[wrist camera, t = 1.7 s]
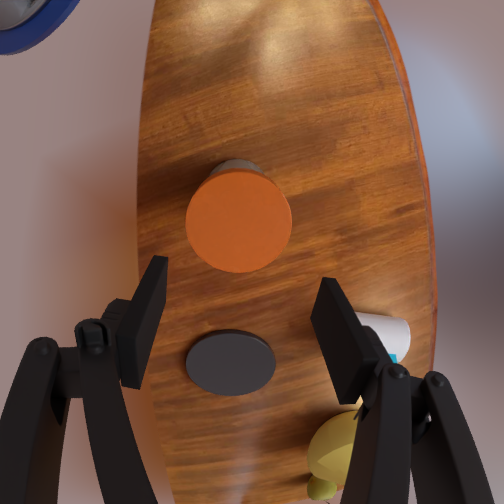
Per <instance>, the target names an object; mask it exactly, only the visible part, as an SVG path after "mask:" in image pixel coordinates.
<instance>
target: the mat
mask: <svg viewBox="0 0 504 504" xmlns="http://www.w3.org/2000/svg"><path fill="white" fill-rule="evenodd" d="M275 366H276V363H275V357H274V353H273V351H272V349H271V347H270V346H269V345H268V344H267V343H266V342H265V341H264V340H263V339H261V338H260V337H258V336H256V335H254V334H252V333H249V332H245V331H241V330H220V331H215V332H211V333H209V334H206V335H204V336H202V337H201V338H199V339H198V340H197V341H196V342H194V343H193V345H192V346H191V347H190V349H189V351H188V354H187V359H186V369H187V372H188V374H189V376H190V378H191V379H192V380H193V381H194V382H195V383H196V384H197V385H198V386H199V387H201V388H202V389H204V390H206V391H208V392H211V393H214V394H218V395H224V396H238V395H244V394H248V393H251V392H254V391H256V390H258V389H260V388H261V387H263V386H264V385H265V384H266V383H268V381H269V380H270V379H271V378H272V376H273V374H274V371H275Z"/></svg>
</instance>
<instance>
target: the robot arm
mask: <svg viewBox="0 0 504 504" xmlns="http://www.w3.org/2000/svg"><path fill="white" fill-rule="evenodd" d="M50 1H51V0H0V30H2V31H9V30H14V29H17V28H19V27H21V26H23V25H25V24H26V23H28V22H29V21H31V20H32V19H33V18H34V17H36V16H37V15H38V14H39V13H40V12H41V11H42V10H43V9H44V8H45V7H46V6H47V4H48V3H49V2H50ZM167 268H168V257H164V256H157V255H154V256H153V258H152V260H151V262H150V264H149V266H148V268H147V270H146V271H145V273H144V275H143V277H142V279H141V281H140V283H139V285H138V287H137V289H136V291H135V294H134V296H133V298H132V300H131V301H129V300H123V299H117V298H116V299H115V300H113V301H112V302H111V303H109V304H108V306H107V308H106V310H105V312H104V313H103V315H102V318H101V319H92V318H90V319H86V320H83V321H81V322H79V323H78V324H77V325H76V326H75V330H74V332H75V337H76V342H77V347H62V348H61V347H60V348H59V347H58V344H57V342H56V341H55V340H53V339H52V338H48V337H39V338H36V339H34V340H32V341H31V342H30V343H29V344H28V346H27V348H26V351H25V353H24V355H23V358H22V360H21V362H20V365H19V367H18V370H17V373H16V375H15V378H14V380H13V383H12V386H11V389H10V392H9V394H8V397H7V400H6V403H5V406H4V409H3V412H2V415H1V419H0V504H57V499H58V486H59V475H60V465H61V457H62V449H63V442H64V435H65V429H66V422H67V417H68V411H69V405H70V401H71V398H83V405H84V412H85V418H86V423H87V429H88V435H89V441H90V446H91V450H92V455H93V460H94V464H95V469H96V473H97V477H98V481H99V485H100V488H101V492H102V496H103V499H104V503H105V504H158V502H157V500H156V497H155V495H154V492H153V490H152V487H151V484H150V482H149V479H148V477H147V474H146V471H145V468H144V465H143V462H142V460H141V456H140V453H139V450H138V447H137V444H136V441H135V438H134V434H133V431H132V428H131V424H130V421H129V417H128V414H127V410H126V406H125V402H124V399H123V395H122V390H121V386H120V382H119V381H120V378H121V385H122V386H123V387H128V388H133V389H138V390H140V387H141V383H142V380H143V376H144V373H145V369H146V366H147V362H148V359H149V355H150V352H151V348H152V345H153V342H154V338H155V335H156V332H157V328H158V325H159V322H160V319H161V316H162V312H163V309H164V306H165V303H166V288H167ZM310 319H311V322H312V325H313V328H314V331H315V333H316V336H317V339H318V342H319V345H320V348H321V351H322V354H323V356H324V359H325V362H326V365H327V368H328V371H329V374H330V377H331V380H332V383H333V386H334V389H335V392H336V395H337V398H338V401H339V404H340V405H344V404H356V402H357V400H358V399H359V397H360V395H361V397H362V400H363V403H362V405H361V407H360V408H359V410H358V412H357V413H356V415H355V416H354V419H353V420H356V418H357V417H358V422H357V428H356V433H355V439H354V444H353V449H352V454H351V459H350V464H349V468H348V473H347V477H346V481H345V486H344V490H343V494H342V498H341V502H340V504H408V497H409V485H410V469H411V472H412V477H413V481H414V487H415V493H416V499H417V504H495V503H494V500H493V497H492V493H491V490H490V486H489V483H488V480H487V477H486V474H485V471H484V468H483V465H482V462H481V459H480V456H479V453H478V451H477V448H476V446H475V442H474V440H473V437H472V434H471V432H470V429H469V427H468V424H467V422H466V420H465V417H464V415H463V412H462V410H461V407H460V405H459V403H458V400H457V398H456V396H455V394H454V391H453V389H452V387H451V385H450V383H449V381H448V379H447V378H446V377H445V376H444V375H443V374H441V373H439V372H436V371H429V372H428V373H426V375H425V377H424V378H423V379H422V378H417V377H413V376H410V374H409V372H408V370H407V369H406V368H405V367H403V366H402V365H400V364H397V363H393V361H392V359H391V357H390V355H389V354H388V352H387V350H386V348H385V347H384V346H383V343H382V341H381V340H380V338H379V336H378V335H377V333H376V332H375V331H374V330H373V329H372V328H371V327H370V326H367V325H362V324H361V322H360V321H359V319H358V317H357V315H356V313H355V312H354V310H353V308H352V306H351V305H350V303H349V301H348V299H347V298H346V296H345V294H344V292H343V291H342V289H341V287H340V285H339V284H338V282H337V280H336V278H327V277H323V278H322V281H321V284H320V288H319V291H318V294H317V298H316V301H315V304H314V307H313V311H312V314H311V317H310ZM429 415H430V416H431V421H429V418H428V416H429Z"/></svg>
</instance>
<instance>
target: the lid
mask: <svg viewBox="0 0 504 504" xmlns="http://www.w3.org/2000/svg"><path fill="white" fill-rule="evenodd" d="M185 226H186V233H187V237H188V240H189V242H190V244H191V246H192V248H193V250H194V251H195V252H196V254H197V255H198V256H199V257H200V258H201V259H202V260H204V261H205V262H206V263H207V264H209V265H211V266H212V267H215V268H217V269H219V270H223V271H226V272H233V273H244V272H250V271H254V270H257V269H260V268H262V267H264V266H266V265H267V264H269V263H270V262H272V261H273V260H274V259H275V258H276V257H277V256H278V255H279V254H280V253H281V252H282V251H283V249H284V247H285V246H286V244H287V242H288V240H289V237H290V233H291V228H292V217H291V211H290V207H289V204H288V202H287V200H286V198H285V197H284V195H283V193H282V192H281V190H280V189H279V187H278V186H277V185H276V184H275V183H274V182H273V181H272V180H271V179H270V178H268V177H267V176H266V175H264V174H262V173H260V172H258V171H255V170H252V169H247V168H230V169H225V170H222V171H219V172H217V173H215V174H213V175H211V176H210V177H208V178H207V179H206V180H205V181H204V182H202V184H201V185H200V186H199V187H198V188H197V190H196V191H195V193H194V195H193V197H192V199H191V201H190V203H189V206H188V209H187V212H186V219H185Z"/></svg>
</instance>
